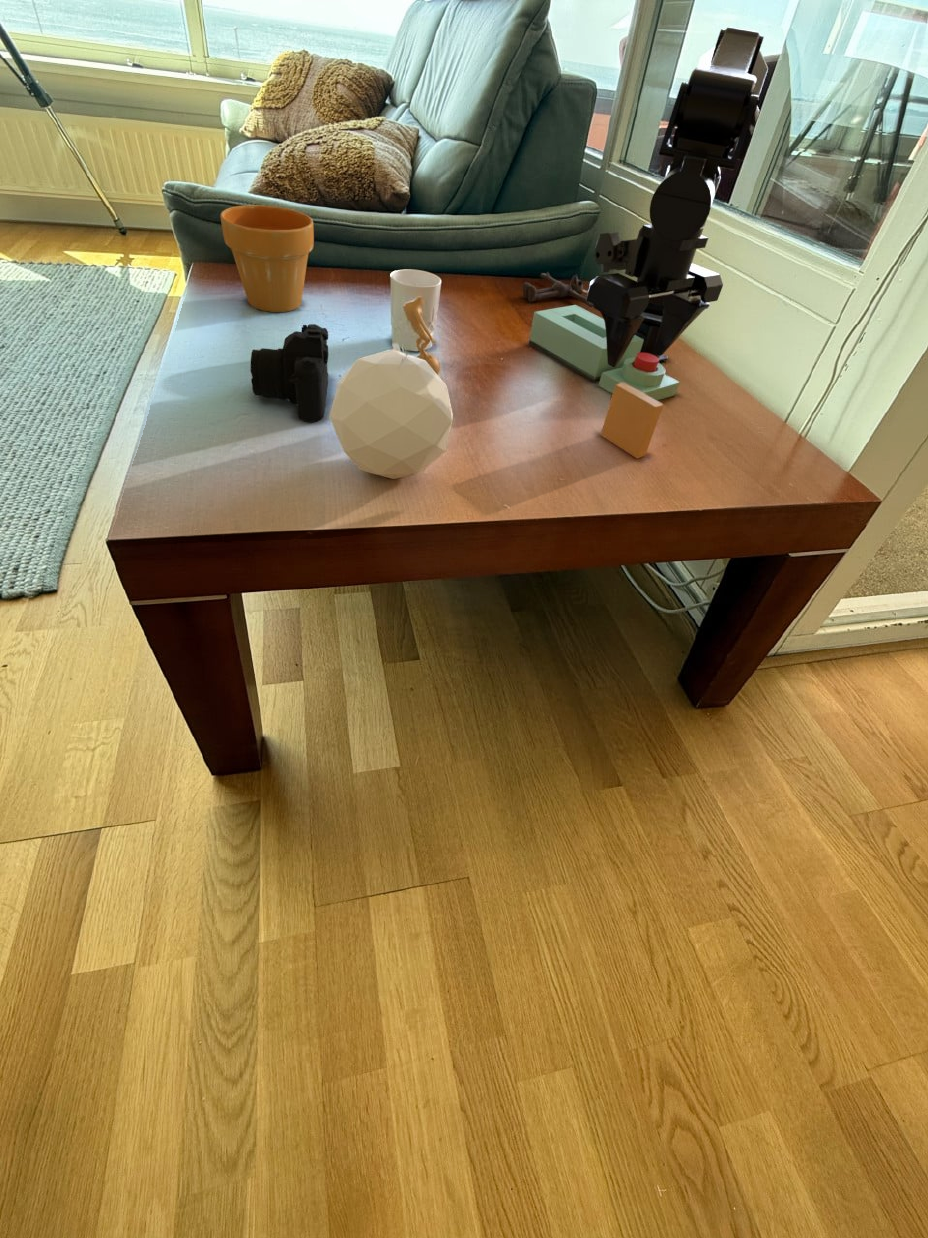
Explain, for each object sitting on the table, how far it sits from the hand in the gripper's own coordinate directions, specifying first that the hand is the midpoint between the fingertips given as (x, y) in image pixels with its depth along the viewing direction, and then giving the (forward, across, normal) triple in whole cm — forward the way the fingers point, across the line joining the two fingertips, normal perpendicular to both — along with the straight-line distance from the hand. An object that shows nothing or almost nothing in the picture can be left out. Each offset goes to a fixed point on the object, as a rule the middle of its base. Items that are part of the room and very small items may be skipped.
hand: (635, 359), depth 81 cm
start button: (+7, -16, -9) cm, 20 cm away
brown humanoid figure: (+11, -33, -46) cm, 58 cm away
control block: (+11, -16, -9) cm, 22 cm away
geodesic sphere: (+12, +32, -8) cm, 35 cm away
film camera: (+12, +34, -29) cm, 46 cm away
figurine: (+11, +15, -26) cm, 32 cm away
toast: (+11, 0, +2) cm, 11 cm away
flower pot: (+11, +21, -61) cm, 65 cm away
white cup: (+11, +8, -38) cm, 40 cm away
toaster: (+11, -16, -22) cm, 29 cm away
